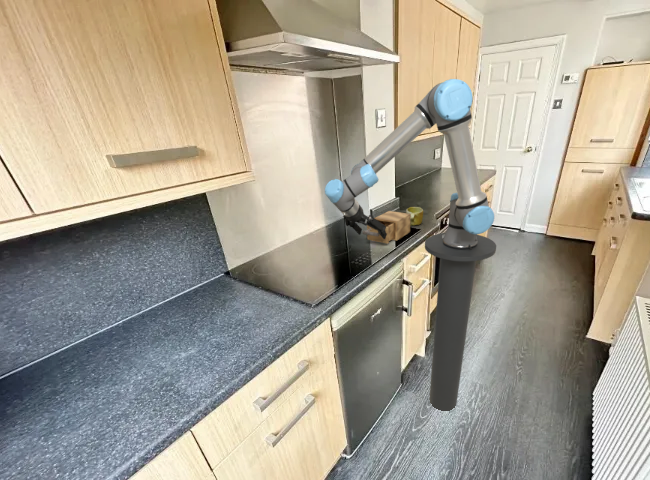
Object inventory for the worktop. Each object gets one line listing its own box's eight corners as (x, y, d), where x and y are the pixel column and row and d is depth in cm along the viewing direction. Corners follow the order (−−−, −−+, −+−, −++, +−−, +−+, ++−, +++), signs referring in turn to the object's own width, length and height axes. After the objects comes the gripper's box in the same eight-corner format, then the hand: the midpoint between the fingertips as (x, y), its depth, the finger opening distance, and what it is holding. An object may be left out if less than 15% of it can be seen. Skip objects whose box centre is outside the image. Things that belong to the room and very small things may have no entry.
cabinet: (396, 240, 154) (396, 221, 149) (374, 236, 160) (374, 218, 155) (410, 232, 164) (410, 213, 160) (389, 228, 171) (388, 210, 166)
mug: (407, 216, 183) (411, 201, 176) (423, 223, 180) (428, 208, 173) (398, 226, 175) (402, 210, 168) (414, 233, 172) (419, 218, 165)
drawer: (380, 248, 144) (380, 231, 140) (360, 244, 149) (359, 228, 145) (401, 235, 158) (401, 219, 154) (381, 231, 164) (381, 217, 160)
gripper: (324, 214, 133) (347, 237, 151) (374, 221, 121) (393, 246, 139) (330, 198, 134) (353, 223, 152) (381, 204, 122) (399, 230, 140)
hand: (372, 234), depth 146 cm, fingers open, 13 cm apart
